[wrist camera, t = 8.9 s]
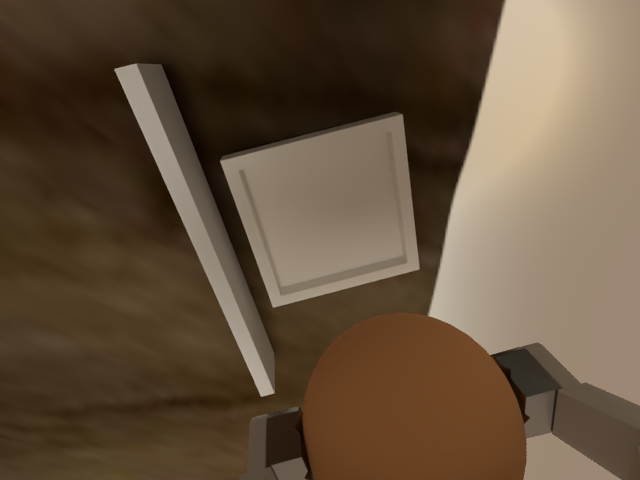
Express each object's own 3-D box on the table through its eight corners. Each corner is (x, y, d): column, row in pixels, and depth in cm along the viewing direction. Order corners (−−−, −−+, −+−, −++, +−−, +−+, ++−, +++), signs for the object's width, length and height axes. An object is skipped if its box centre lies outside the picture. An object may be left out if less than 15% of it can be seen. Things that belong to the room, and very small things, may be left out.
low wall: (143, 68, 19) (114, 69, 15) (161, 64, 19) (136, 63, 15) (262, 356, 29) (261, 396, 25) (274, 353, 29) (274, 393, 25)
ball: (317, 418, 14) (343, 631, 9) (276, 301, 11) (278, 506, 6) (460, 381, 14) (574, 570, 9) (453, 255, 11) (612, 418, 6)
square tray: (223, 155, 22) (220, 161, 20) (395, 111, 22) (402, 114, 20) (273, 296, 27) (273, 307, 25) (412, 260, 27) (419, 269, 25)
